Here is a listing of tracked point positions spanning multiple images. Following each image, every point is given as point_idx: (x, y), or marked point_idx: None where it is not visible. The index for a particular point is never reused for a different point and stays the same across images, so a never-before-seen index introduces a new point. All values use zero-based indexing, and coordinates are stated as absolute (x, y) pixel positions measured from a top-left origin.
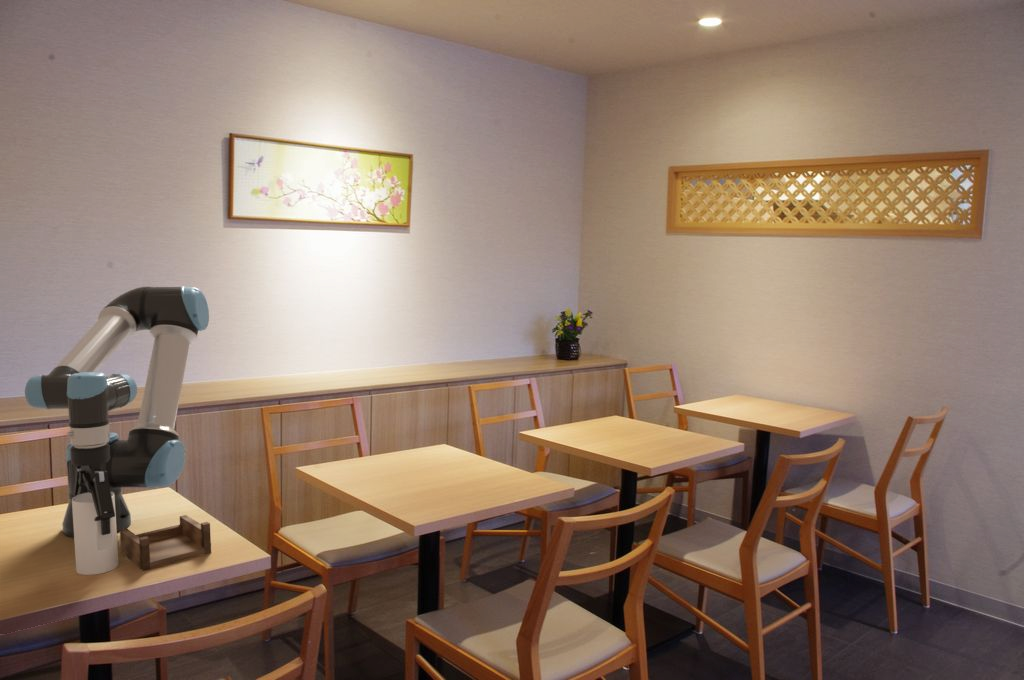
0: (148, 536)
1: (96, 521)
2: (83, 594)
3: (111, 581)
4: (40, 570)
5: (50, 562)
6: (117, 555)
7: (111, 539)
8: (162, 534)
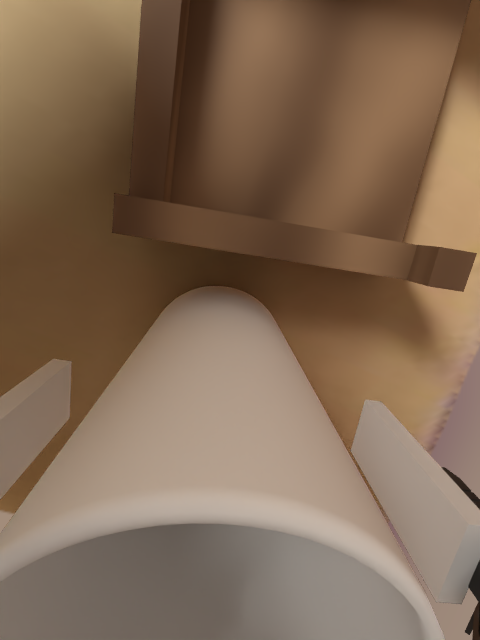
0: (174, 104)
1: (433, 587)
2: None
3: (366, 373)
4: None
5: None
6: (261, 308)
7: (399, 425)
8: (184, 22)
